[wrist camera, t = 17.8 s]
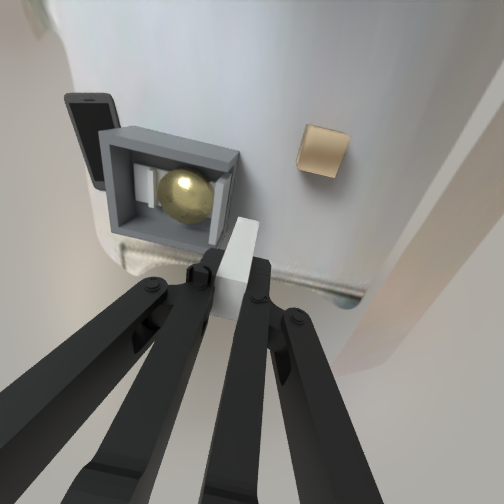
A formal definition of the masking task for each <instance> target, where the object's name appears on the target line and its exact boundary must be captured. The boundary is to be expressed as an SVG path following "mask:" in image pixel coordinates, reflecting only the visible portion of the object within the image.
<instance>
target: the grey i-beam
mask: <svg viewBox="0 0 504 504" xmlns="http://www.w3.org/2000/svg"><path fill="white" fill-rule="evenodd" d="M169 172H170V171H169V170H165V169H161V168H157V167H153V166H148V165H144V164H140V163H134V178H135V194H136V200H137V201H141V202H145V203H148V204H149V207H151V208H155V207H156V206H157V205H158V206H161V204H160V201H159V198H158V186H159V183H160V181H161V179H162V178H163V176H165V175H166V174H167V173H169ZM231 175H232V174H231V173H227V172H224V174H223V175H222V176H221V177H220V178H219V179H218V181H217V182H215V181H211V180H209V181H210V183H211V185H212V187H213V190H214V194H215V195H214V203H213V208H212V210H211V212H210V213H209V215H208V216H207V217H209V218H212V219H211V227H210V235H209V243H208V244H212V245H216V243H217V241H218V238H219V236H220V234H221V232H222V230H223V226H224V220H225V213H226V207H227V201H228V194H229V188H230V181H231Z"/></svg>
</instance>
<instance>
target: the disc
mask: <svg viewBox="0 0 504 504" xmlns="http://www.w3.org/2000/svg"><path fill="white" fill-rule="evenodd" d="M214 195H215V194H214V190H213V187H212V185H211V183H210V181H209V180H208V179H207V178H206V177H205V176H204V175H203V174H202V173H201V172H199V171H197V170H195V169H192V168H188V167H180V168H176V169H174V170H172V171H170V172H169V173H167V174H166V175H165V176H163V178H162V179H161V181H160V183H159V186H158V198H159V201H160V204H161V206H162V208H163V209H164V211H165V212H166V213H167V214H168V215H169V216H170V217H172V218H173V219H175V220H177V221H179V222H182V223H186V224H194V223H198V222H200V221H202V220H204V219H205V218H206V217H207V216H208V215H209V213H210V212H211V210H212V208H213V203H214Z"/></svg>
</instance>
